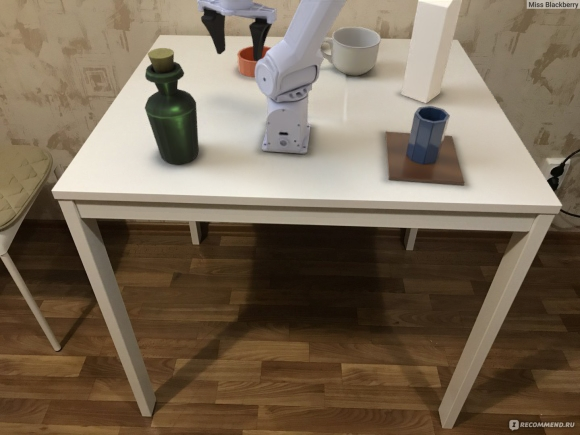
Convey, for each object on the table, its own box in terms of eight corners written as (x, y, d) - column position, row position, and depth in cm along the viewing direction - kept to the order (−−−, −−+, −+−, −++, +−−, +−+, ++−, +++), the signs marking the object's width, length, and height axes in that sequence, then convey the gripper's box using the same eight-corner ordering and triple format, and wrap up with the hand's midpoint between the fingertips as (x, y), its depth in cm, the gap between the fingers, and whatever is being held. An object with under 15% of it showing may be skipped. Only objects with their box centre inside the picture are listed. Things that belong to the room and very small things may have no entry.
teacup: (375, 61, 109) (380, 27, 104) (377, 81, 101) (382, 45, 96) (317, 58, 110) (318, 24, 105) (314, 78, 102) (316, 43, 97)
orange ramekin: (275, 80, 101) (274, 63, 99) (235, 78, 102) (233, 60, 99) (280, 63, 108) (280, 46, 105) (242, 61, 109) (241, 44, 106)
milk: (426, 104, 94) (452, -12, 79) (400, 94, 97) (420, -19, 82) (440, 93, 97) (467, -20, 82) (415, 84, 100) (437, -26, 85)
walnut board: (463, 185, 74) (464, 182, 73) (388, 179, 75) (389, 176, 74) (451, 138, 84) (452, 135, 84) (385, 134, 85) (385, 131, 85)
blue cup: (415, 166, 77) (424, 124, 71) (402, 149, 80) (410, 108, 75) (443, 161, 78) (454, 120, 72) (429, 145, 81) (439, 104, 76)
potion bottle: (194, 170, 77) (177, 66, 64) (148, 165, 78) (123, 62, 65) (209, 143, 82) (195, 44, 70) (166, 139, 83) (145, 40, 71)
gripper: (184, -23, 76) (194, 57, 85) (264, -11, 72) (266, 71, 81) (205, -34, 81) (213, 43, 90) (281, -23, 77) (281, 56, 86)
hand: (239, 55), depth 86 cm, fingers open, 7 cm apart
